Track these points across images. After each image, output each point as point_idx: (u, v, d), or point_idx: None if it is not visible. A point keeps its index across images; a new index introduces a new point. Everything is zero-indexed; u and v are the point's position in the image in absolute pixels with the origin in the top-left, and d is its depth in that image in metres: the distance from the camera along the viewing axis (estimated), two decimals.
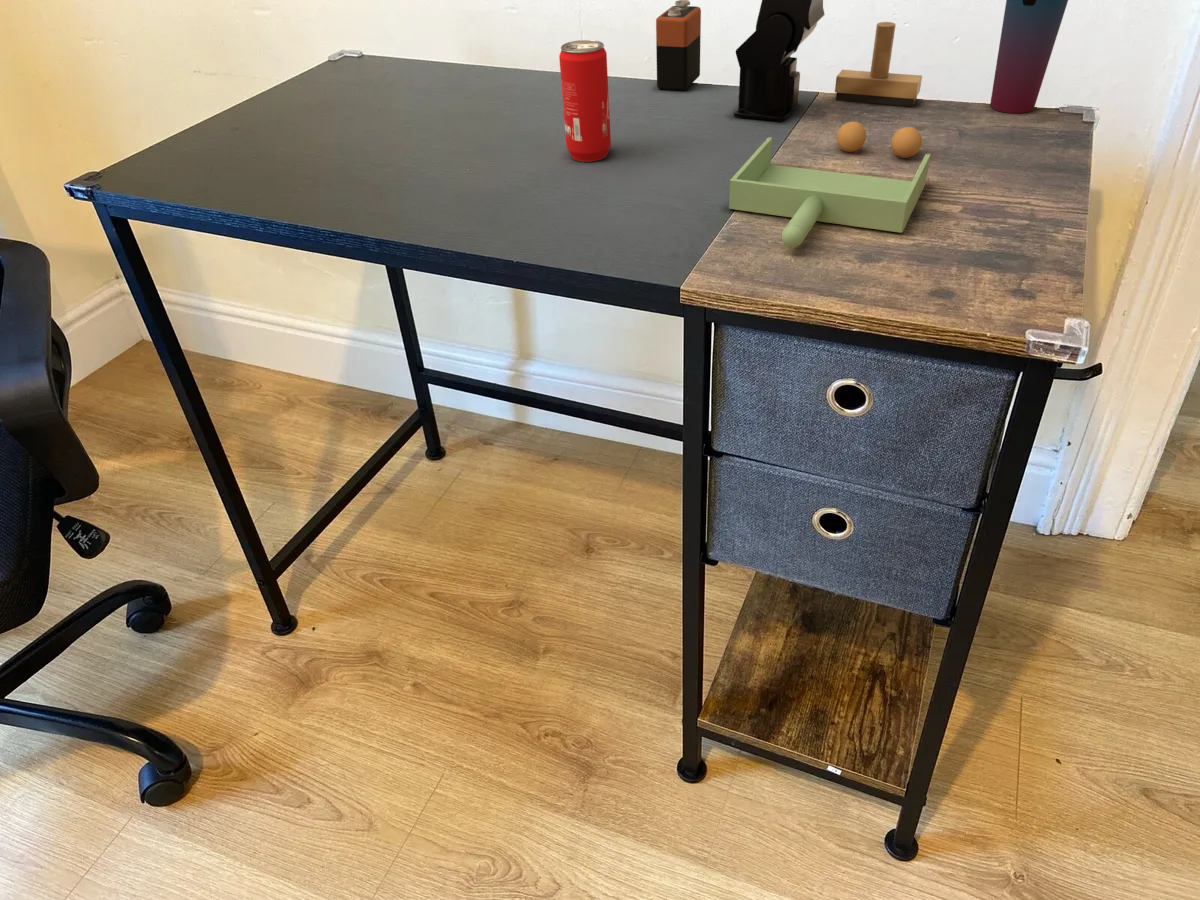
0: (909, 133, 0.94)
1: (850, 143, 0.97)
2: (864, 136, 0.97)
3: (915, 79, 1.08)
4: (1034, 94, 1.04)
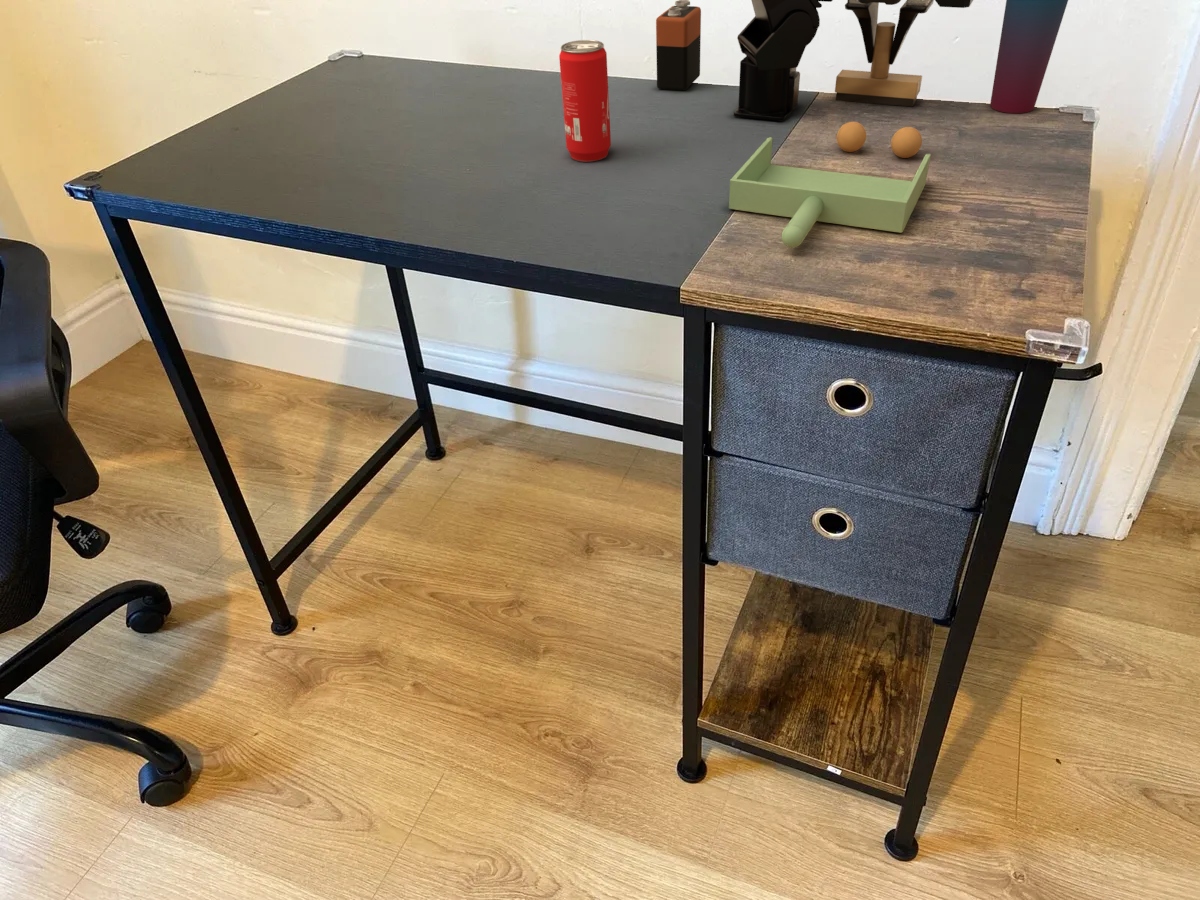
0: (909, 133, 0.94)
1: (850, 143, 0.97)
2: (864, 136, 0.97)
3: (915, 79, 1.08)
4: (1034, 94, 1.04)
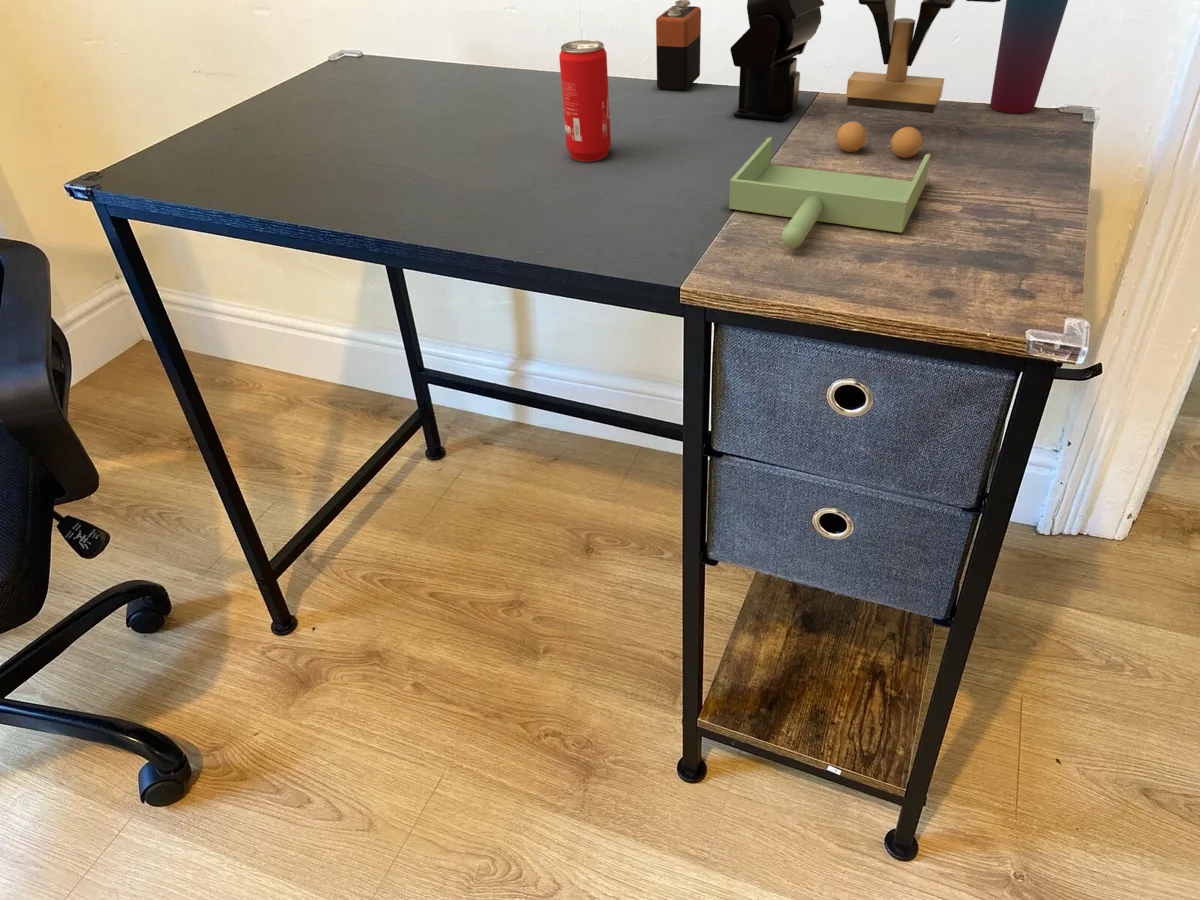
0: (909, 133, 0.94)
1: (850, 143, 0.97)
2: (864, 136, 0.97)
3: (936, 82, 0.96)
4: (1034, 94, 1.04)
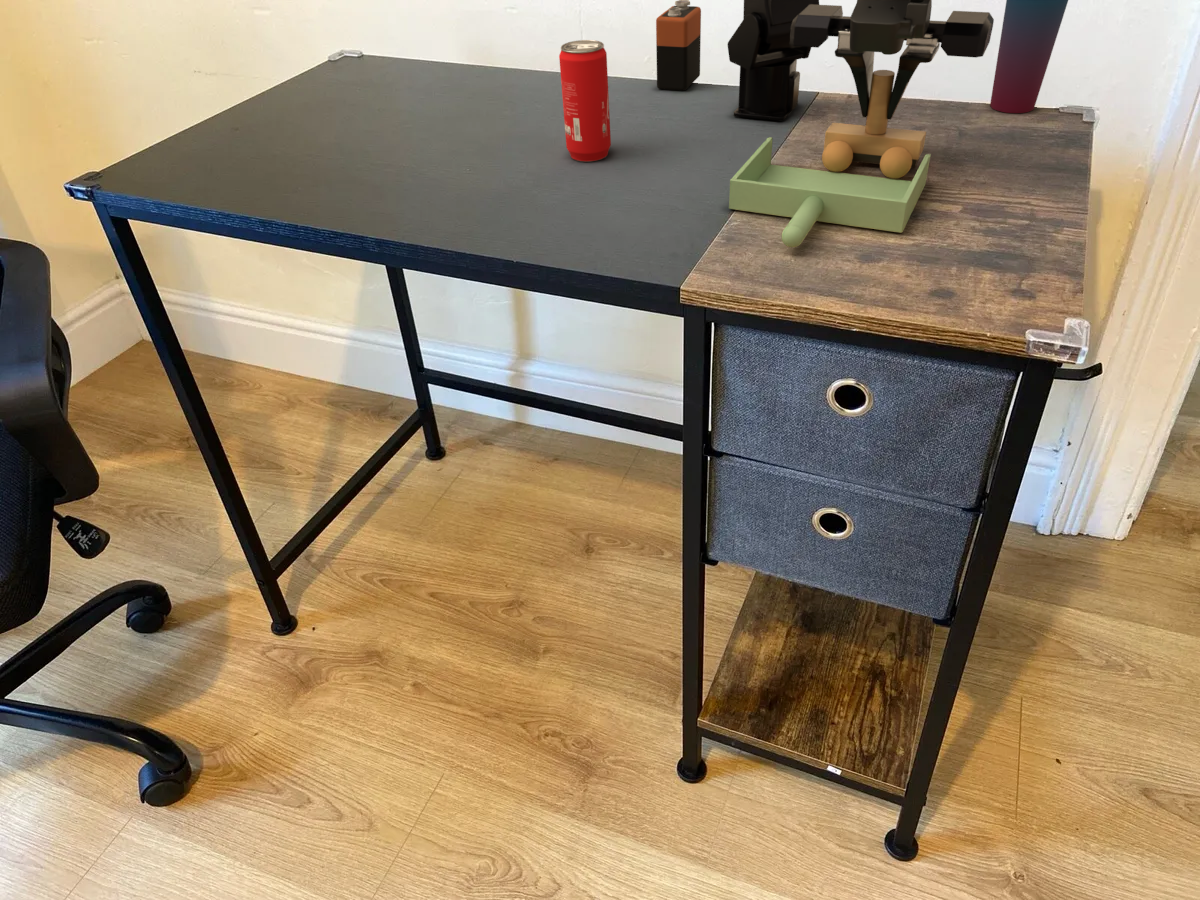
0: None
1: None
2: (852, 156, 0.94)
3: (917, 136, 0.92)
4: (1034, 94, 1.04)
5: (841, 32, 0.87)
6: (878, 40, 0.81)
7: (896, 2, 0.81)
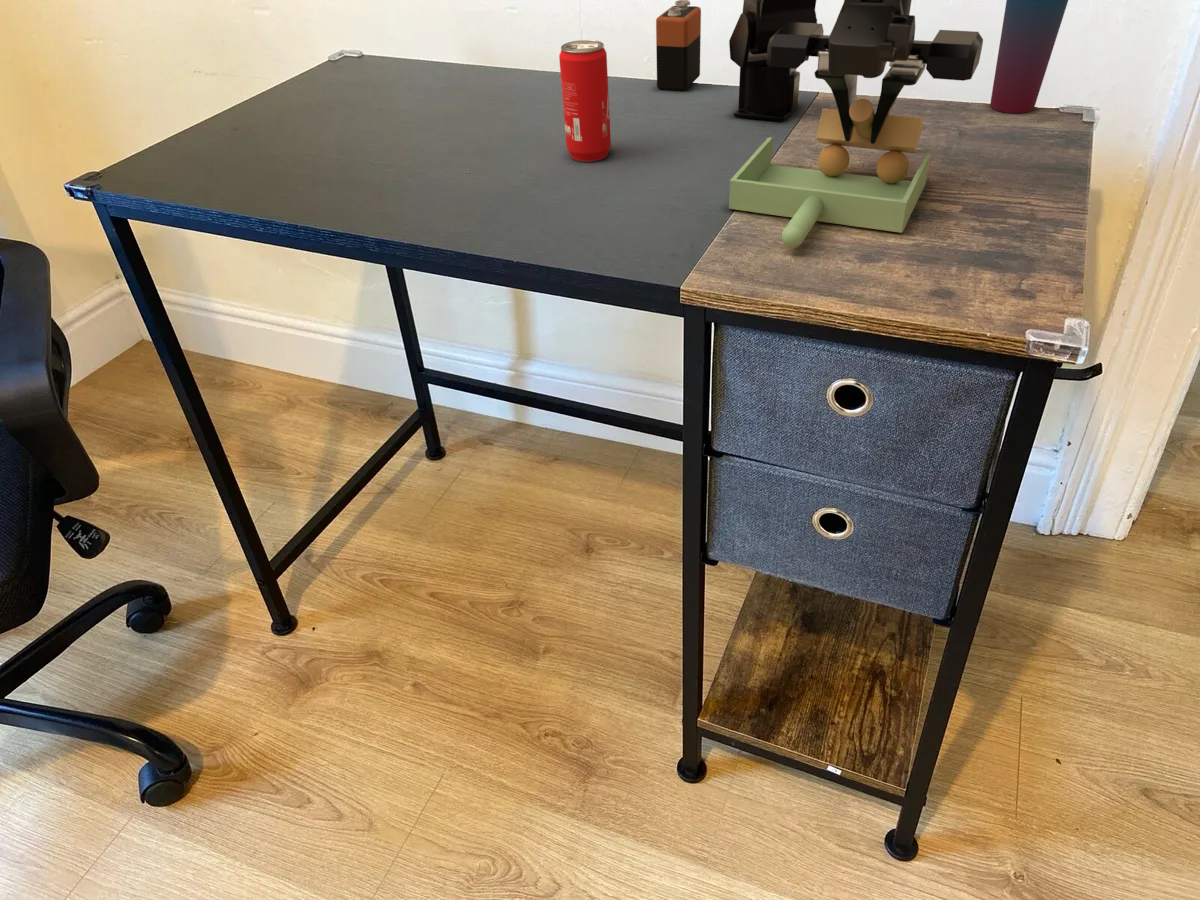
0: None
1: (837, 148, 0.91)
2: (848, 156, 0.92)
3: (912, 135, 0.87)
4: (1034, 94, 1.04)
5: (821, 52, 0.82)
6: (858, 63, 0.76)
7: (877, 22, 0.75)
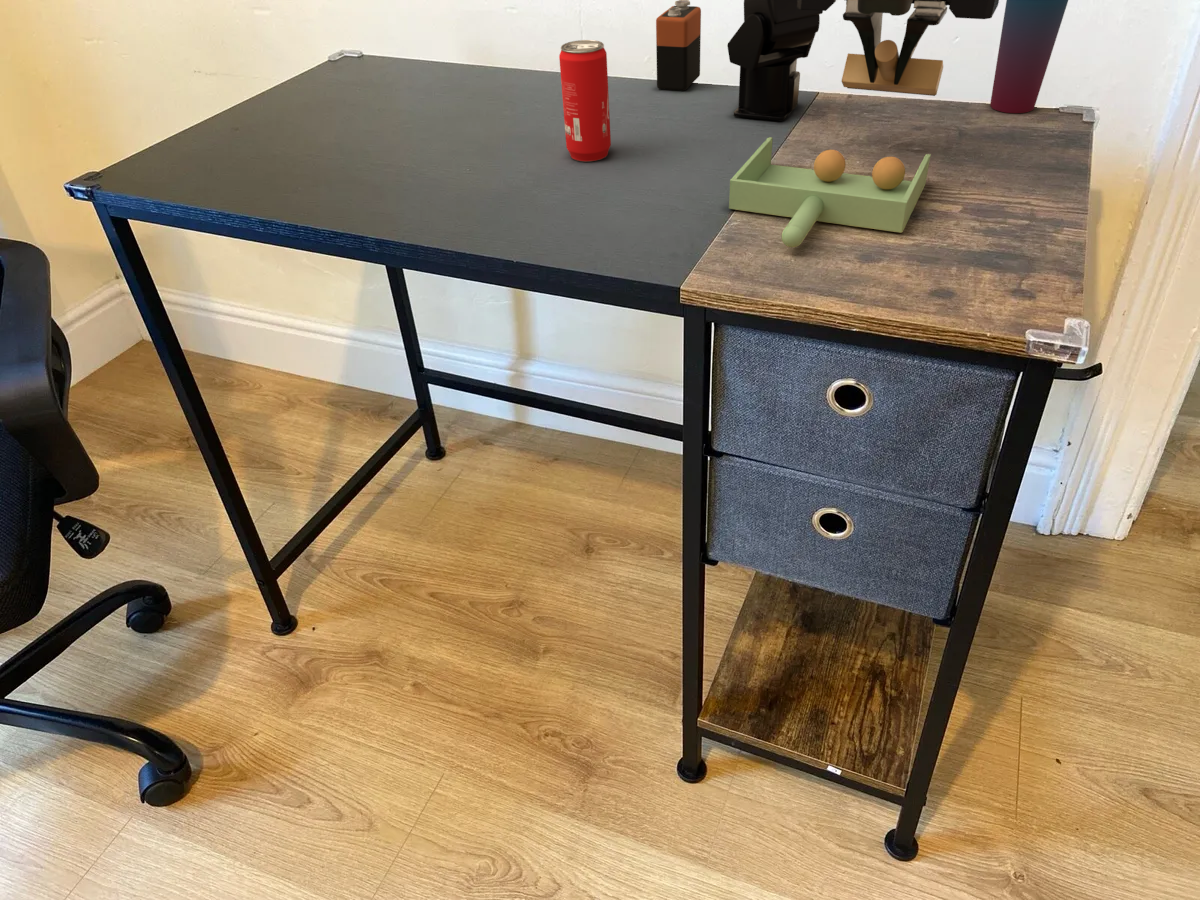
0: (891, 160, 0.88)
1: (829, 168, 0.90)
2: (843, 163, 0.90)
3: (933, 77, 0.93)
4: (1034, 94, 1.04)
5: None
6: (886, 1, 0.81)
7: None
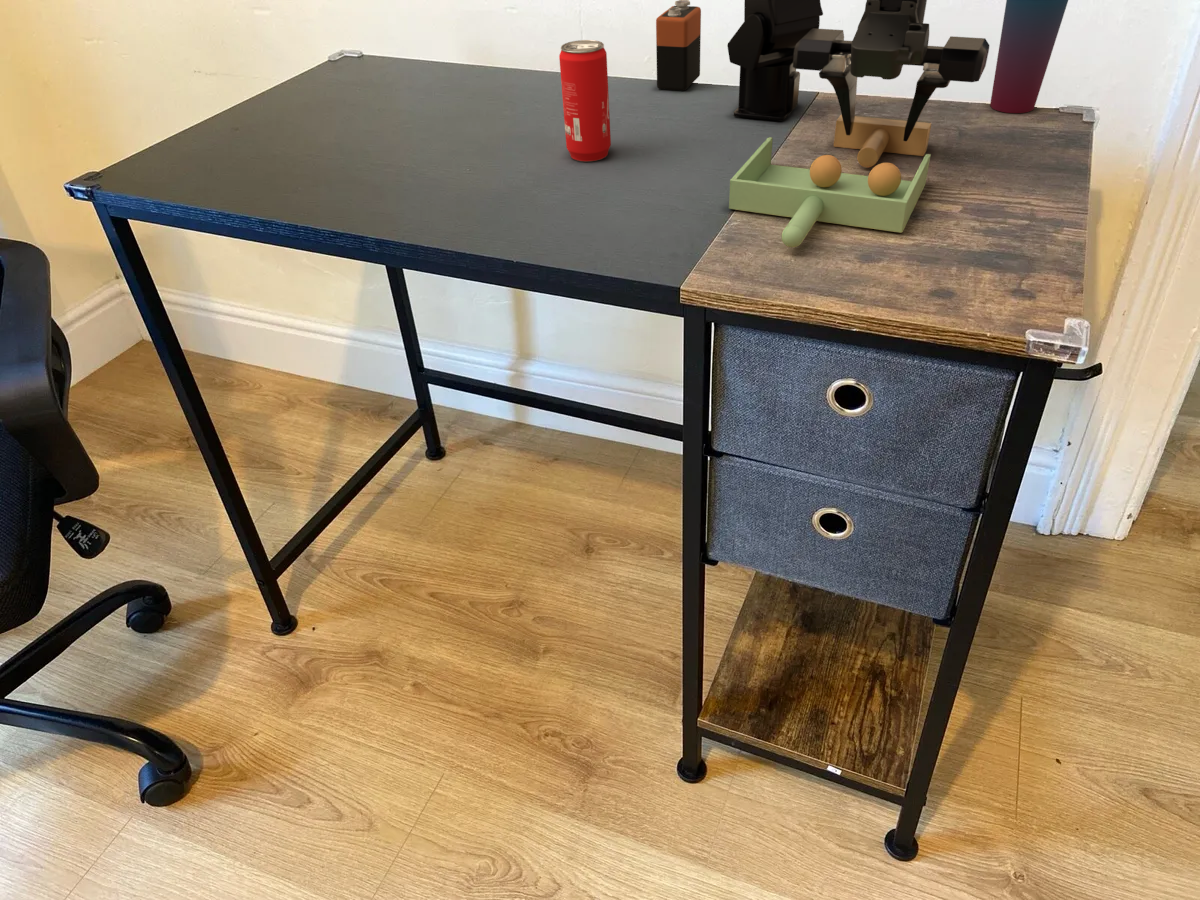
0: (882, 183, 0.87)
1: (824, 185, 0.90)
2: (838, 174, 0.89)
3: (920, 145, 0.96)
4: (1034, 94, 1.04)
5: None
6: (878, 66, 0.84)
7: (895, 29, 0.84)
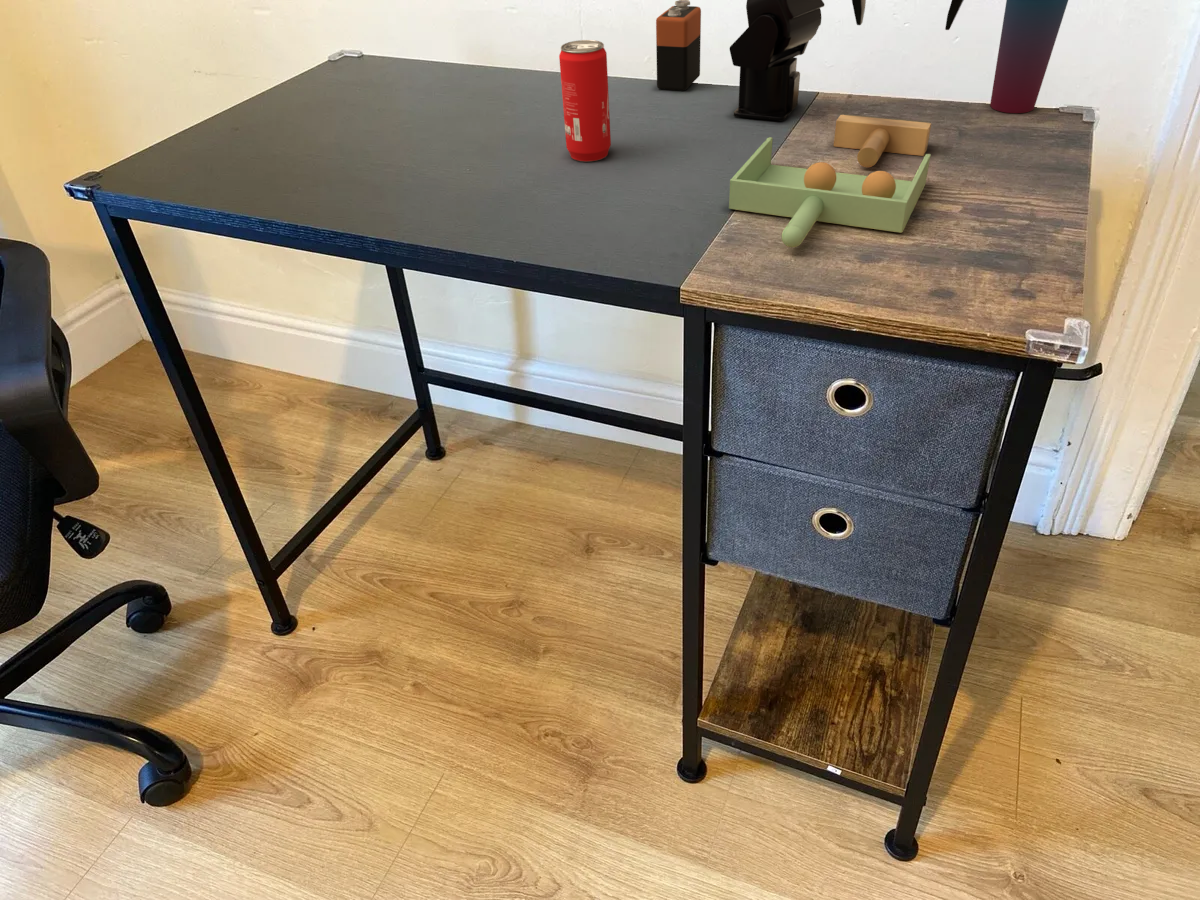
0: None
1: None
2: (833, 185, 0.89)
3: (920, 145, 0.96)
4: (1034, 94, 1.04)
5: None
6: None
7: None
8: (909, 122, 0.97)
